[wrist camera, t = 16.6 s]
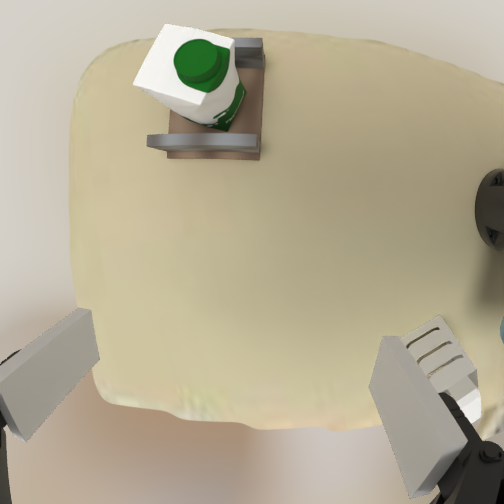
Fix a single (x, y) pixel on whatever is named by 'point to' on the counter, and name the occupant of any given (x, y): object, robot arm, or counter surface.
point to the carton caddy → (243, 125)
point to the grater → (458, 365)
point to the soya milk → (193, 75)
